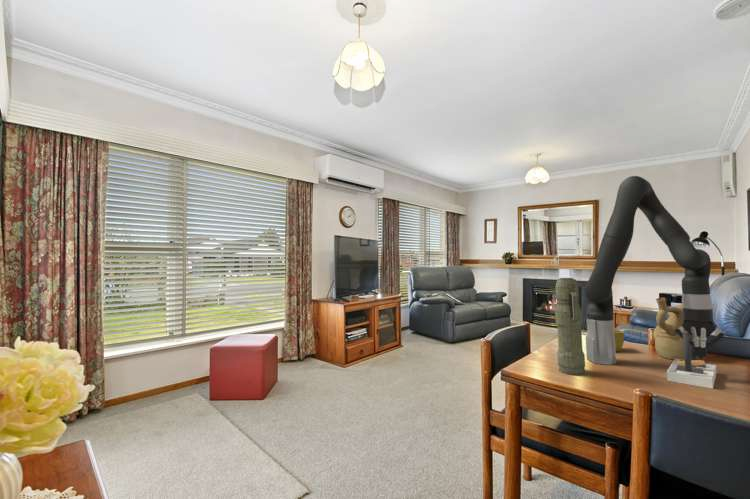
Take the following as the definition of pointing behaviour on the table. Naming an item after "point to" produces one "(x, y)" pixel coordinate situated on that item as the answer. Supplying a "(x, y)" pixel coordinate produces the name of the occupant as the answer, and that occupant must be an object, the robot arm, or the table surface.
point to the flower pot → (618, 339)
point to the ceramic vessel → (669, 331)
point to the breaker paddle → (692, 362)
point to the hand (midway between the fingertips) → (701, 357)
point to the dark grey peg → (687, 352)
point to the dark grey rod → (692, 350)
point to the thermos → (569, 327)
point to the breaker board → (692, 374)
